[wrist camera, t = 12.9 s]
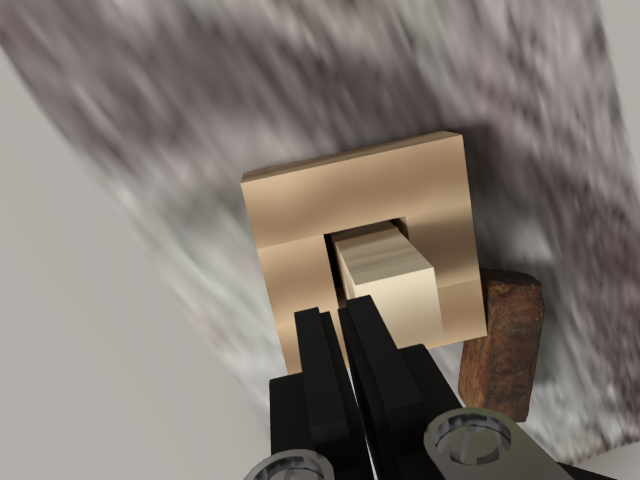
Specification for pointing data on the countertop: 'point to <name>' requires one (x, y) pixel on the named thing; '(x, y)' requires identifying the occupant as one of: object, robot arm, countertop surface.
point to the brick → (504, 345)
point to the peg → (390, 280)
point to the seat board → (361, 209)
